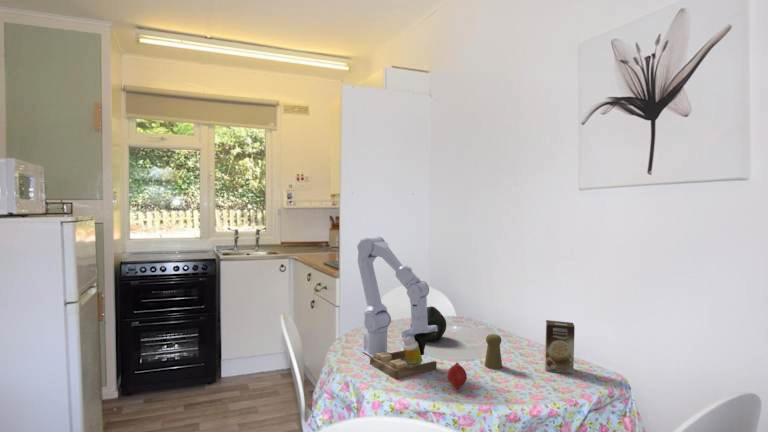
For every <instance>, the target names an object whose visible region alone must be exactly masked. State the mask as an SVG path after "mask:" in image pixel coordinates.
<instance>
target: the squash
mask: <svg viewBox="0 0 768 432" xmlns="http://www.w3.org/2000/svg"><path fill="white" fill-rule="evenodd" d="M427 321H428V326H430V325H436V326H437V329H438V331H436V332H435V331H433V332H428V333H427V334H429V338H428V340H427V341H429V340H430V341H429V342H434V340H437V341H439V340H441V339H442V338H443V336H444V334H445V332H446V330H447V321H446V318H445V316H444V315H443V314H442V313H441V311H440V310H439V309H437V308H436V307H435V306H431V305H430V306H427ZM411 328H412V324H411V323H410V329H411Z"/></svg>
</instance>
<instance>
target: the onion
mask: <svg viewBox="0 0 768 432" xmlns="http://www.w3.org/2000/svg"><path fill="white" fill-rule="evenodd" d="M467 375H468V374H467V372H466V370H465V369H464V368H463V366H461V365H460V363H459V362H455V364H454V365H452V366H451V367H450V368H449V369H448V371H447V376H446V377H447V380H448V382H449V384H450V385H451V386H452V387H454V388H455V389H460V388H461V387H462V386H463V385H465V384H466V382H467V379H468V377H467Z"/></svg>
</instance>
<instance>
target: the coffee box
mask: <svg viewBox="0 0 768 432" xmlns="http://www.w3.org/2000/svg"><path fill="white" fill-rule="evenodd" d="M575 331H576V329H575V324H574V323H573V322H569V321H561V320H560V321H559V320H549V319H546V320H545V345H544V370H545V372H546V371H547V372H552V373H553V372H556V373H562V374H568V373H570V375H574V364H575V362H574V361H575Z"/></svg>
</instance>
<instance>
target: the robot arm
mask: <svg viewBox="0 0 768 432" xmlns="http://www.w3.org/2000/svg"><path fill="white" fill-rule="evenodd" d="M356 247H357V251H358V256H357V265H358V269H359V274H360V279H361V282H362V287H363V292H364V293H363V294H364V296H365V301H366V305H367V307H366V309H364V310H365V311H364V313H363V315H364V320H363V323H364V327H365V329H366V330H365V331H364V333H363V349H362V350H361V352H362V353H363V354H365V355H368V356H369V357H373V356H376V354H377V353H382V352H387V353H391V352H389V351H388V330H389V326H390V325H391V323H392V318H391V317H392V316H391V315H390V314H391V313H389V312H388V308H387V306H385V304H383V303H382V298H381V293H380V290H379V286H378V281H377V276H376V272H375V268H374V264H373V263H374V261H375V260H376V258H377V257H379V258H382V260H384V261H385V262H386V264H388V265H389V267H391V269H393V270H394V271H395V277H396V279H397V280H398V281H399V282H400V283H401V284H402V286H403V287H404V288H405V289H406V294H407V297H408V298H409V303H410V318H411V319H410V320H411V322H410V325H411V324H412V328H411V327H410V328H409V329H406V330H403V331H402V330H401V333H400V334H401V338H407V337H410V336H414V338H415V341H417V342H418V345H419V349H420V353H421V356H424V354H425V348H426V345H427V342H428V341H429V340H428V338H429V334H427V333H428V332H433V331H435V332H436V331H438V329H437V326H436V325H430V326H428V321H427V307H428V302H427V301H428V299H427V296H428V295H429V293H430V286H429V285H428V283H427V282H426V281H425V280H421V279H420V278H419V277H418V276H417V275H416V274H415V273H414V272H413V269H412V268H411V266H408V265H403V264H402V262H401V261H400V259H398V258H397V256H396V255H395V254H394V253H393V251H392V250H391V248H390V246H389V243H388V242H386V241H385V239H384V237H382V236H375V237H374V236H373V237H363V238H361V239H360V240H359V242H358V243H357V245H356Z"/></svg>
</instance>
